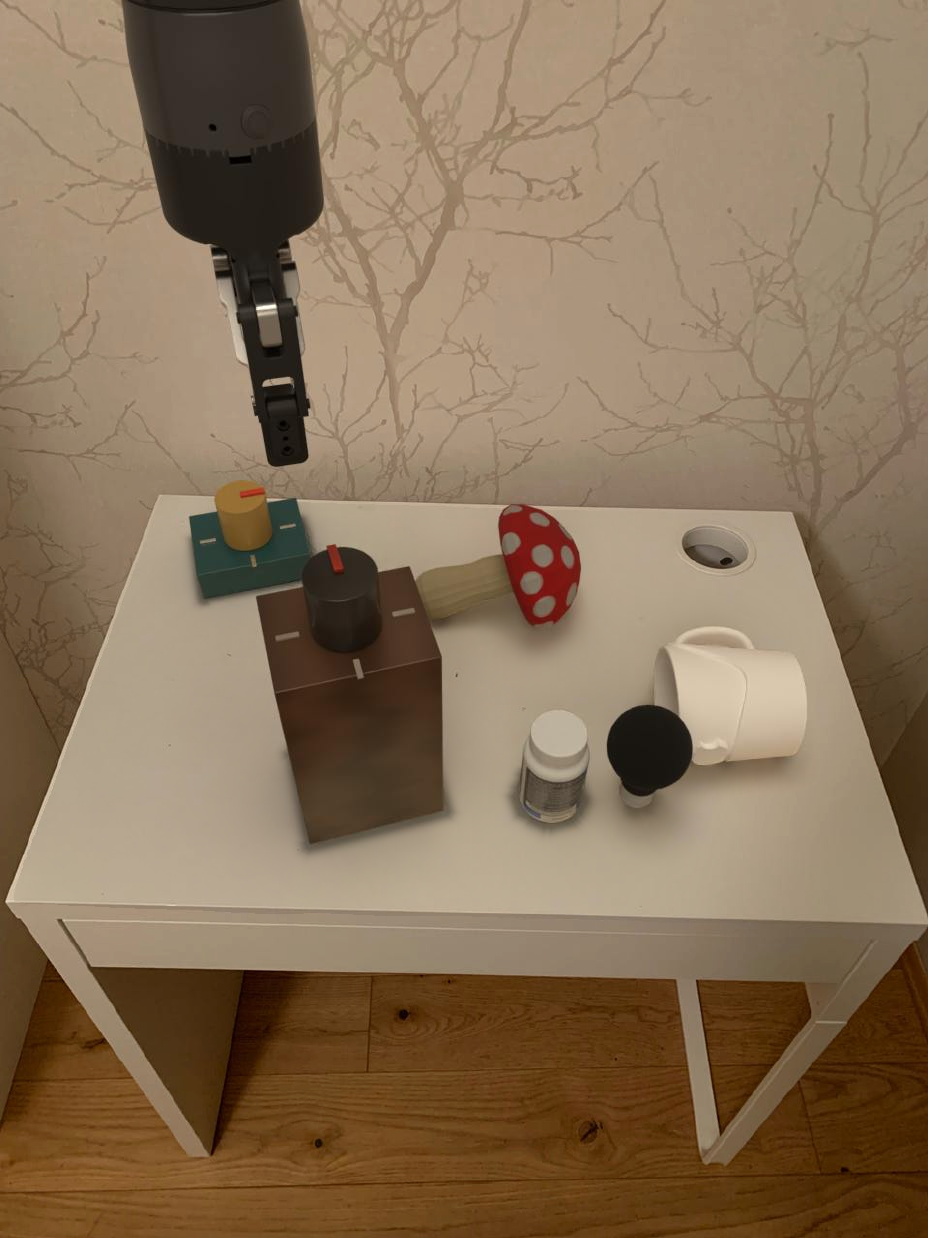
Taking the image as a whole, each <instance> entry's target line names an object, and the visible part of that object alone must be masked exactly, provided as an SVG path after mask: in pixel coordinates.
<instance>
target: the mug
mask: <svg viewBox="0 0 928 1238" xmlns="http://www.w3.org/2000/svg"><path fill="white" fill-rule="evenodd" d="M719 645H720V646H719ZM653 670H654V671H653V703H654V704H653V705H657V706H661V707H664V708H666V709H668V710H671V711H672V712H673V713H675V714H676V715H678V716H679V717H680V718H681V720H682V721H683V722H684V723H685V725H686V726H687V728H688V730H689V732H690V734H691V738H692V744H693V755H692V759H691V762H692V763H693V764H695V765H699V766H711V765H716V764H719V763H722V762H724V761H725V762H737V761H738V762H739V761H747V760H758V759H759V760H760V759H769V758H781V757H791V756H793V755H795V754H796V753H797V752H798V751H799V750H800V748H801V747H802V744H803V741H804V738H805V734H806V729H807V723H808V721H807V720H808V696H807V687H806V682H805V677H804V674H803V669H802V668H801V665H800V663H799V661H798V660H797V658H796V657H795V655H793V654H792V653H791V652H789V651H779V650H768V649H756V647H755V645H754V644H753V642H752V640H751V639H750V638H749V636H747V635H746V634H744V633H743V632H741V631H740V630H738V629H735V628H732V627H728V626H727V627H726V626H721V625H720V626H719V625H718V626H717V625H711V626H709V625H708V626H701V627H700V626H699V627H696V628H692V629H689V630H687V631H684V632H683V633H681V634H680V635H678V636H677V637H676V638H675V640H674V642H666V643H665V644H663V645H662V646H660V648H658V651H657V654H656V656H655V662H654V669H653Z"/></svg>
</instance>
